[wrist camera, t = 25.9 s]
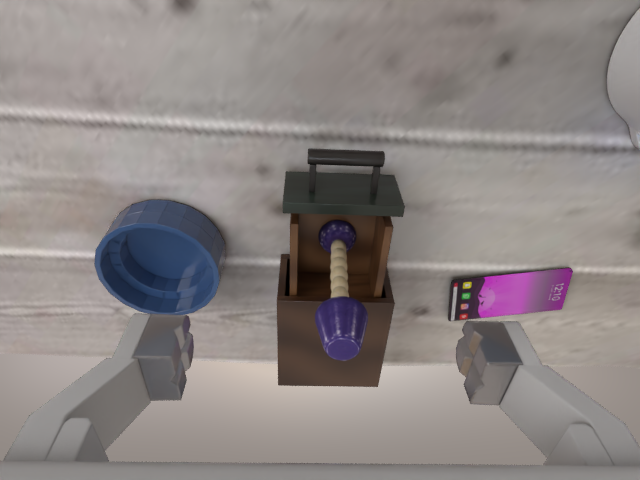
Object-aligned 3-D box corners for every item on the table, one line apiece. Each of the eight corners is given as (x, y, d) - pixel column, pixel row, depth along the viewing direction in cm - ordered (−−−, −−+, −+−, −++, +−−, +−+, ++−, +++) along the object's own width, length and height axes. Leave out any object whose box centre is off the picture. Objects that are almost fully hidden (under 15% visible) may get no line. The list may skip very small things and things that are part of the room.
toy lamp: (308, 243, 50) (307, 362, 36) (323, 210, 47) (327, 325, 34) (347, 254, 51) (360, 374, 37) (363, 223, 48) (384, 339, 35)
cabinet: (281, 254, 53) (276, 300, 46) (384, 256, 53) (394, 303, 47) (281, 336, 61) (278, 385, 55) (370, 338, 62) (378, 387, 55)
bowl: (221, 200, 48) (212, 225, 44) (229, 289, 56) (223, 317, 52) (99, 196, 48) (79, 221, 44) (125, 286, 56) (110, 315, 52)
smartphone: (450, 277, 55) (452, 282, 55) (571, 266, 55) (574, 270, 54) (446, 317, 60) (448, 322, 59) (559, 307, 59) (562, 312, 58)
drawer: (286, 131, 43) (282, 159, 38) (400, 136, 43) (412, 164, 38) (285, 271, 53) (283, 307, 48) (378, 273, 54) (385, 310, 49)
